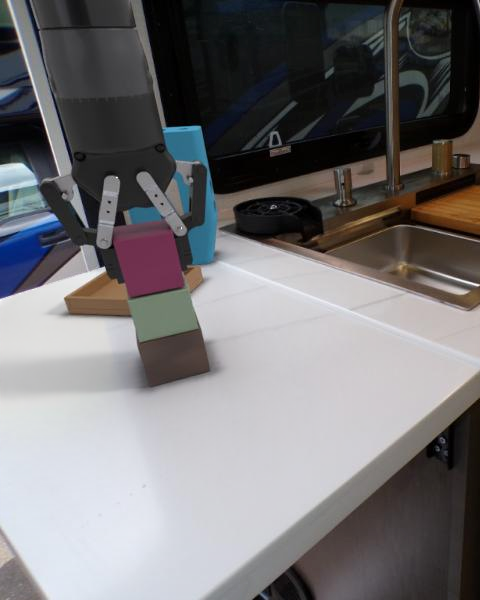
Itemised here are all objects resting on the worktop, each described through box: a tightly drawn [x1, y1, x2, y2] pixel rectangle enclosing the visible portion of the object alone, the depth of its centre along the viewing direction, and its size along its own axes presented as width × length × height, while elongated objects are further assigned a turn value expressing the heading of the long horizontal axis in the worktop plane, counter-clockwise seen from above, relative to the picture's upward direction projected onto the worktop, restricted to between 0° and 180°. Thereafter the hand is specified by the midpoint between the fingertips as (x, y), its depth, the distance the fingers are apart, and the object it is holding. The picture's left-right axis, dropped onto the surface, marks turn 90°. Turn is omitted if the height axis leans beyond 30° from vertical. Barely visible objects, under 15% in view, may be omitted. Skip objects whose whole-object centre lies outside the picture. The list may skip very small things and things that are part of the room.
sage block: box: [126, 272, 198, 343], centre depth 53 cm, size 6×6×4 cm
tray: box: [63, 265, 204, 317], centre depth 72 cm, size 13×11×2 cm
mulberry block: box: [112, 219, 185, 297], centre depth 51 cm, size 5×5×6 cm
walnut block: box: [134, 306, 211, 388], centre depth 55 cm, size 6×6×5 cm
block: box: [127, 125, 219, 266], centre depth 79 cm, size 12×5×20 cm, turn 102°
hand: (153, 274), depth 52 cm, fingers closed on mulberry block, 5 cm apart
